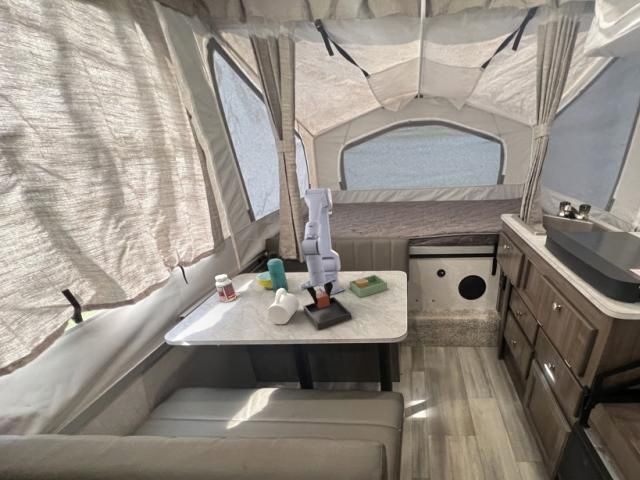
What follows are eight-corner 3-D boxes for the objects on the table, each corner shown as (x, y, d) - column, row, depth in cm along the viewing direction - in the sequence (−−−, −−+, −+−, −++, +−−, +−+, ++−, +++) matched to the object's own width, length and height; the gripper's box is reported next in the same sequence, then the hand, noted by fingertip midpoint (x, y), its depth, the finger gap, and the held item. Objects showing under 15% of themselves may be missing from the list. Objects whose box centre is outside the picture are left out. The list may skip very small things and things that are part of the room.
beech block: (356, 289, 141) (355, 280, 138) (365, 286, 143) (364, 278, 140) (360, 292, 137) (359, 283, 135) (369, 290, 139) (368, 281, 137)
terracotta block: (315, 304, 125) (313, 294, 123) (326, 300, 127) (324, 291, 125) (319, 308, 121) (317, 298, 119) (330, 305, 123) (328, 295, 121)
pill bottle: (237, 294, 143) (229, 272, 138) (235, 300, 138) (228, 277, 132) (222, 297, 141) (214, 275, 136) (220, 303, 136) (212, 280, 131)
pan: (304, 311, 126) (303, 305, 125) (334, 301, 132) (334, 296, 131) (318, 330, 113) (317, 324, 112) (351, 318, 119) (351, 313, 118)
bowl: (289, 284, 150) (286, 272, 147) (269, 294, 142) (266, 281, 139) (274, 280, 156) (271, 268, 153) (254, 289, 147) (250, 277, 144)
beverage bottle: (277, 292, 143) (266, 250, 134) (291, 291, 144) (282, 249, 134) (273, 298, 137) (261, 255, 128) (288, 297, 138) (278, 254, 129)
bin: (350, 288, 143) (349, 281, 141) (375, 281, 149) (375, 274, 147) (361, 297, 134) (360, 290, 133) (387, 289, 140) (386, 282, 139)
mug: (270, 324, 118) (262, 296, 112) (281, 310, 127) (274, 284, 121) (291, 324, 117) (284, 296, 111) (301, 311, 126) (295, 284, 121)
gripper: (300, 278, 111) (307, 311, 117) (338, 268, 117) (343, 300, 124) (294, 272, 116) (301, 304, 123) (331, 263, 123) (336, 294, 129)
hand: (322, 302), depth 124 cm, fingers closed on terracotta block, 4 cm apart
